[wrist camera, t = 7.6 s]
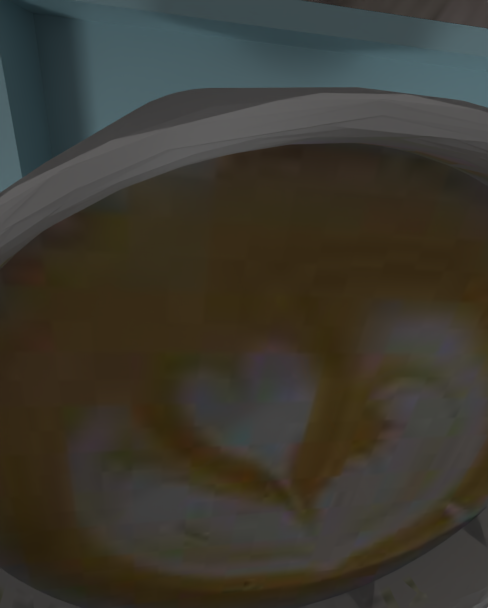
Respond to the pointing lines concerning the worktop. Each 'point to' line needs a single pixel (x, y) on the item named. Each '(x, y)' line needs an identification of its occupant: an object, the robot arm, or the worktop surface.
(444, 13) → the worktop surface
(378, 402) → the coffee mug
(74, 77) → the tote
